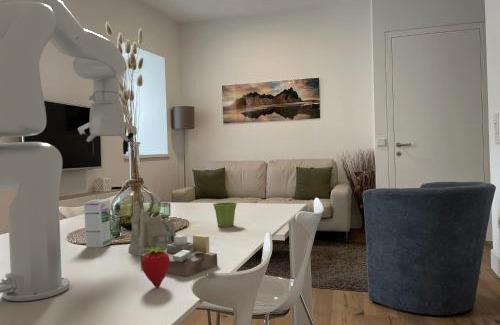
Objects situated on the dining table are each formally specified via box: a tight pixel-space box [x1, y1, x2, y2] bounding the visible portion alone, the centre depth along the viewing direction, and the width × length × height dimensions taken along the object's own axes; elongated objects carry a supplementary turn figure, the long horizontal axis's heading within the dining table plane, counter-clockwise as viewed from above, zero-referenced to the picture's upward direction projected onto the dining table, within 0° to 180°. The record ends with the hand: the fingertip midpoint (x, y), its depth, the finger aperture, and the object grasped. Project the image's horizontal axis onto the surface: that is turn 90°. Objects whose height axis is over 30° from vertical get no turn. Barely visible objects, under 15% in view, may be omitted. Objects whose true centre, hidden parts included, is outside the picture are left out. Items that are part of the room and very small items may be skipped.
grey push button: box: [175, 234, 188, 247], centre depth 106 cm, size 3×3×3 cm
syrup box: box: [83, 198, 113, 249], centre depth 130 cm, size 6×6×14 cm
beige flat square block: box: [192, 234, 210, 253], centre depth 103 cm, size 1×4×4 cm, turn 54°
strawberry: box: [140, 241, 170, 288], centre depth 87 cm, size 6×8×10 cm
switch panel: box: [140, 241, 218, 277], centre depth 103 cm, size 11×16×5 cm
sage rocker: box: [173, 250, 192, 262], centre depth 97 cm, size 4×3×1 cm
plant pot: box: [212, 201, 238, 228], centre depth 158 cm, size 9×9×9 cm
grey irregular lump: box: [128, 201, 177, 258], centre depth 123 cm, size 16×16×15 cm
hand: (108, 154), depth 127 cm, fingers open, 9 cm apart
